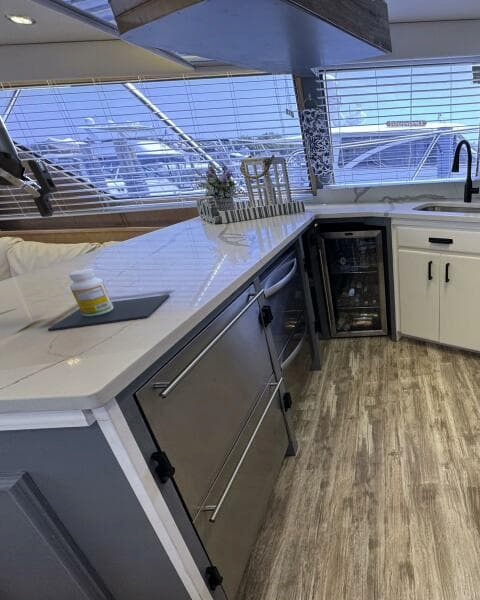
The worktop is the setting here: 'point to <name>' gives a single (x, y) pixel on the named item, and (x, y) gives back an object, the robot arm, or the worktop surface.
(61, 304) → the worktop surface
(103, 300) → the supplement bottle
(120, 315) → the rubber mat
